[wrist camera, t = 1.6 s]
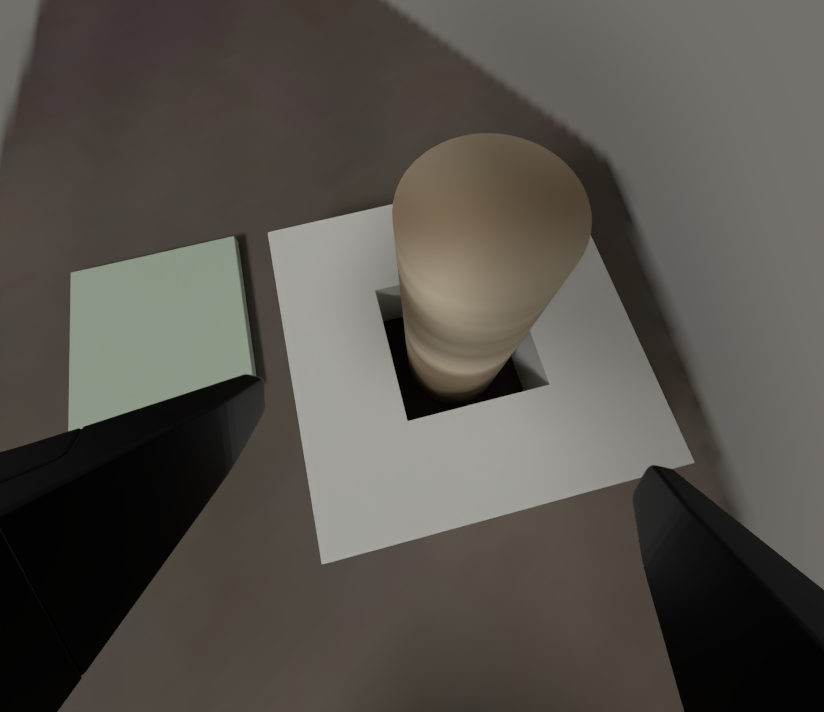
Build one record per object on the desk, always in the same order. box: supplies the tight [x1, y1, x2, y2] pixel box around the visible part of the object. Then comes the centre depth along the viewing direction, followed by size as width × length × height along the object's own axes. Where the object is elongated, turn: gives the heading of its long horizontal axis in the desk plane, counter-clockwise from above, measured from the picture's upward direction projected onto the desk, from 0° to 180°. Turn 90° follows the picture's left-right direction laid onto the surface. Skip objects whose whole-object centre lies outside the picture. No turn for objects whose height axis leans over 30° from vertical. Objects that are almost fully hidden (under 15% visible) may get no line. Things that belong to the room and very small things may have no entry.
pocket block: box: [268, 204, 695, 564], centre depth 20 cm, size 16×16×4 cm
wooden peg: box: [392, 133, 592, 404], centre depth 16 cm, size 5×5×13 cm
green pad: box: [68, 236, 256, 431], centre depth 23 cm, size 10×10×1 cm
